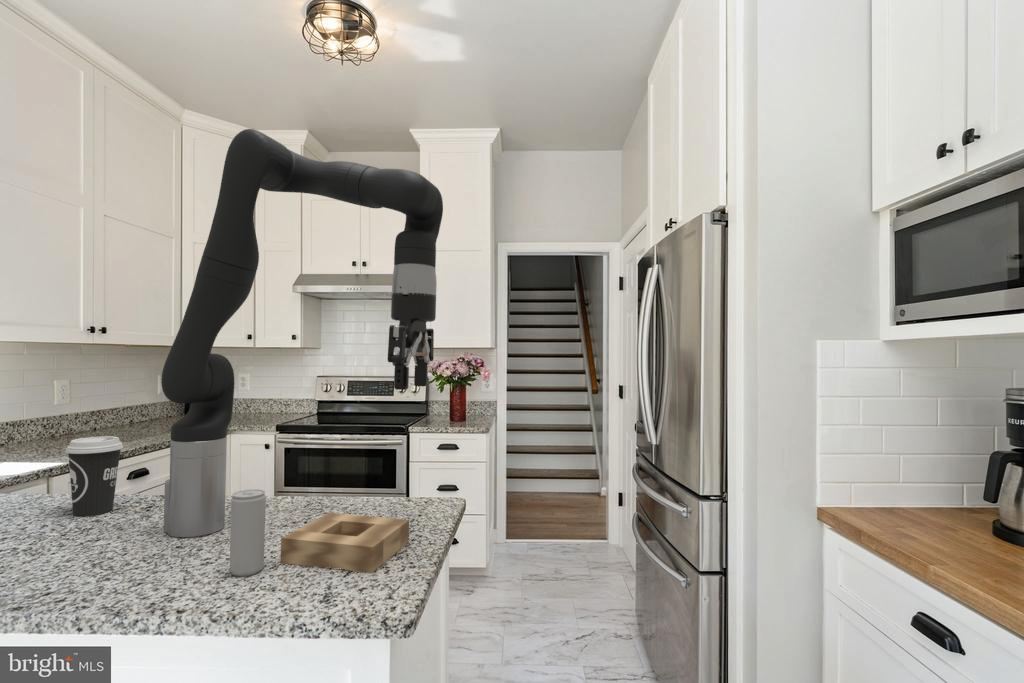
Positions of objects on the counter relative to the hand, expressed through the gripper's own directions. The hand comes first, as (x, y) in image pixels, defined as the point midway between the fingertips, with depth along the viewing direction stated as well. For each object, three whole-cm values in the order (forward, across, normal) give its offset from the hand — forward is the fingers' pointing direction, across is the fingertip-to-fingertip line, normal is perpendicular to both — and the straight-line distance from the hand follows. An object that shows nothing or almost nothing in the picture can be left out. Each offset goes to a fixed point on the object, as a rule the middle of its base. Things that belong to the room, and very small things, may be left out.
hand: (411, 387), depth 92 cm
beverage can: (+28, +13, -21) cm, 38 cm away
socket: (+28, +2, -10) cm, 30 cm away
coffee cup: (+29, -5, -72) cm, 78 cm away
